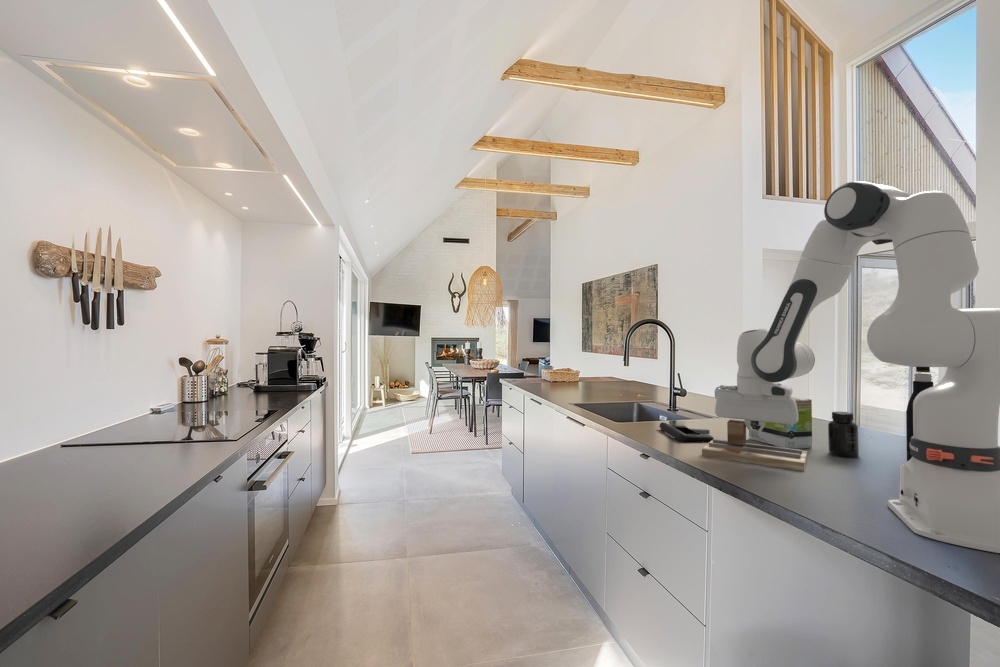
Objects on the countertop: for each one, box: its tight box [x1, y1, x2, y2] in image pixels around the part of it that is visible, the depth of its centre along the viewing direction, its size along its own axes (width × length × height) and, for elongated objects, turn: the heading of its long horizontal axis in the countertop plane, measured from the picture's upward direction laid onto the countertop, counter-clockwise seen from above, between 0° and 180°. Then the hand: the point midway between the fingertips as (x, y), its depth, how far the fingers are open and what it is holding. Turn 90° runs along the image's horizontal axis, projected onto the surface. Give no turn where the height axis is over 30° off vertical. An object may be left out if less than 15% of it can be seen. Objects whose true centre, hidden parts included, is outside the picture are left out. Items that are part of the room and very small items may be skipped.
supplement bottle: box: [827, 411, 860, 459], centre depth 126 cm, size 7×7×12 cm
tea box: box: [748, 396, 813, 449], centre depth 141 cm, size 15×10×15 cm
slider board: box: [701, 438, 808, 472], centre depth 125 cm, size 14×24×3 cm, turn 53°
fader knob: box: [726, 418, 747, 447], centre depth 127 cm, size 5×4×7 cm
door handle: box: [657, 421, 715, 443], centre depth 152 cm, size 3×20×16 cm
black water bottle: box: [905, 367, 934, 462], centre depth 112 cm, size 6×6×30 cm
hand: (755, 436), depth 125 cm, fingers closed
